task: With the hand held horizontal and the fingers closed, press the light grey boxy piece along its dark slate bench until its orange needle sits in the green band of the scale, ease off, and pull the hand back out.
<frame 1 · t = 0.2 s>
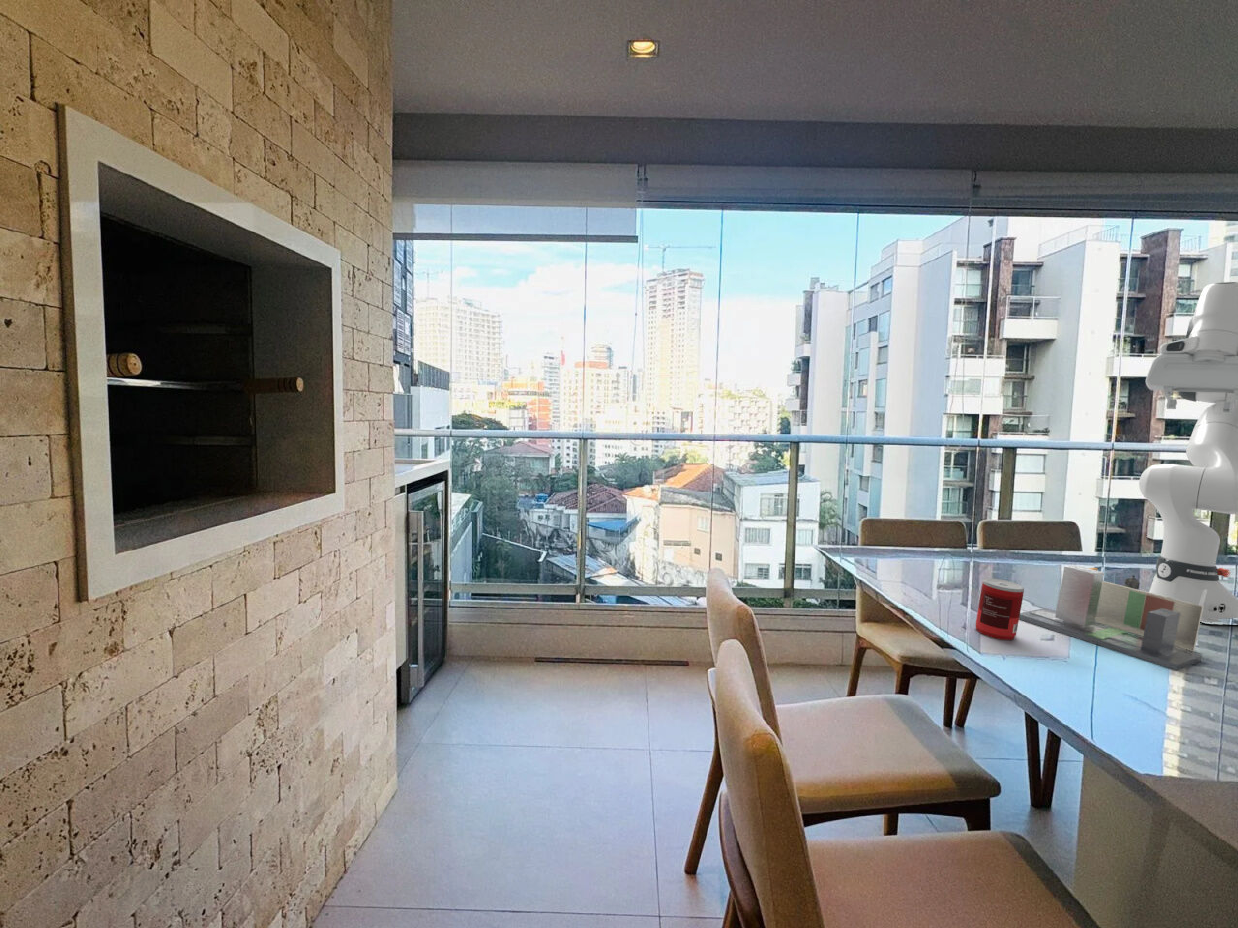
hand: (1198, 409, 144), 52 cm above the table, tool tilted 20°, fingers open, 8 cm apart
canned food: (994, 634, 141), on the table
light grey boxy piece: (1082, 594, 151), point 8 cm above the table, slide at 0.0 cm
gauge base: (1103, 638, 146), on the table
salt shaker: (1124, 623, 161), on the table
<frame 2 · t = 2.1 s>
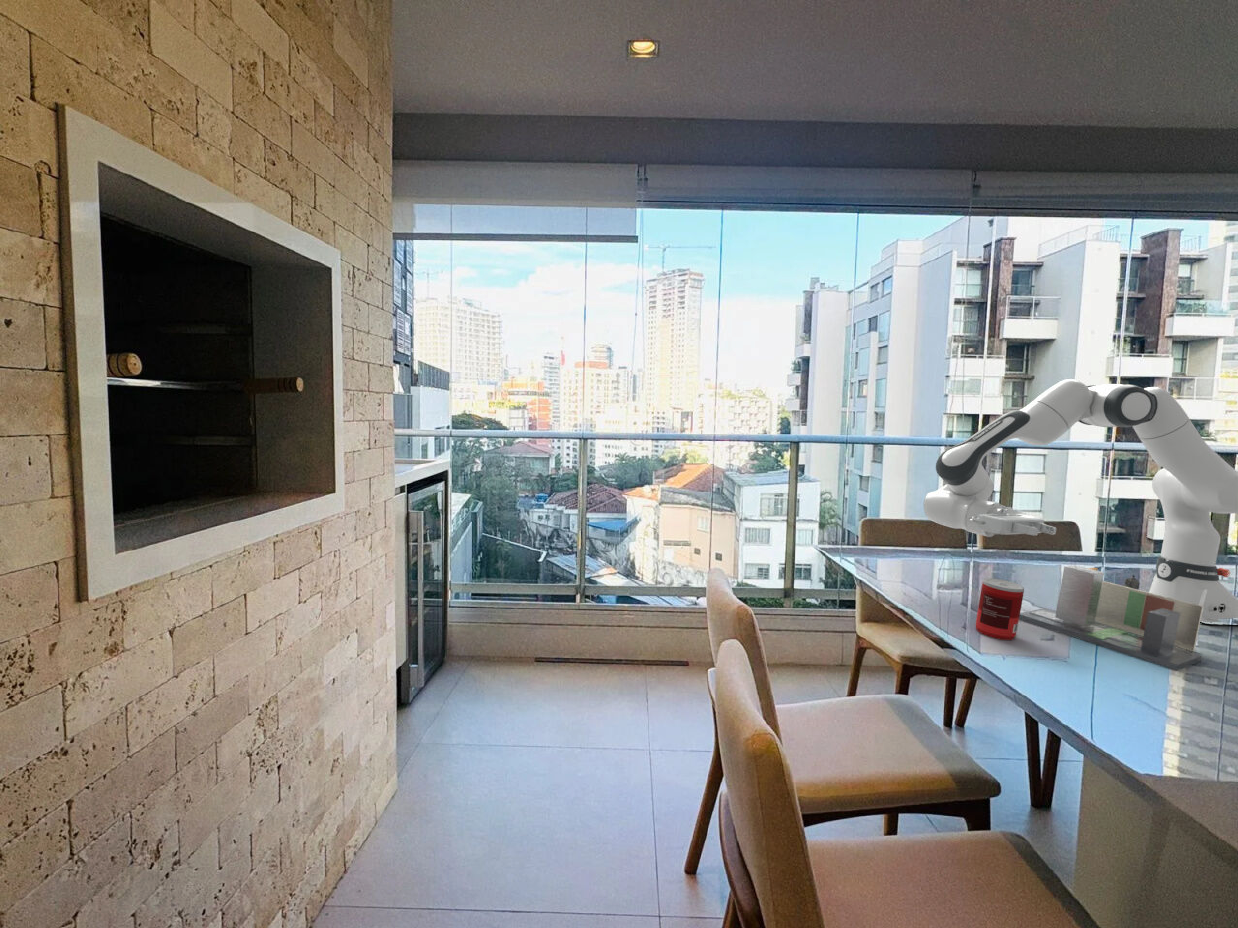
hand: (1046, 531, 156), 20 cm above the table, tool horizontal, fingers open, 8 cm apart
nothing on the table moved.
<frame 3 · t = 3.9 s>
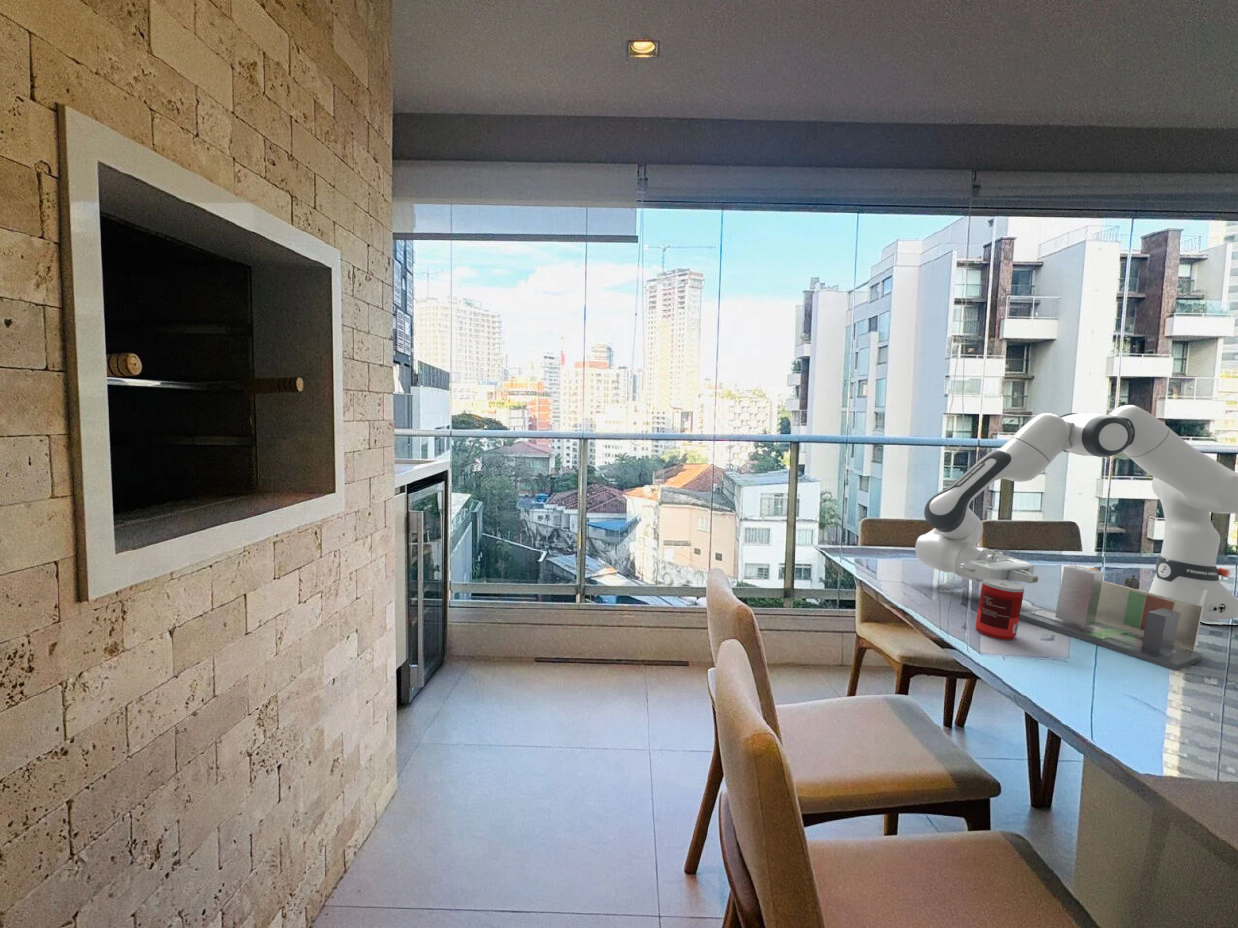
hand: (1035, 579, 157), 9 cm above the table, tool horizontal, fingers closed
nothing on the table moved.
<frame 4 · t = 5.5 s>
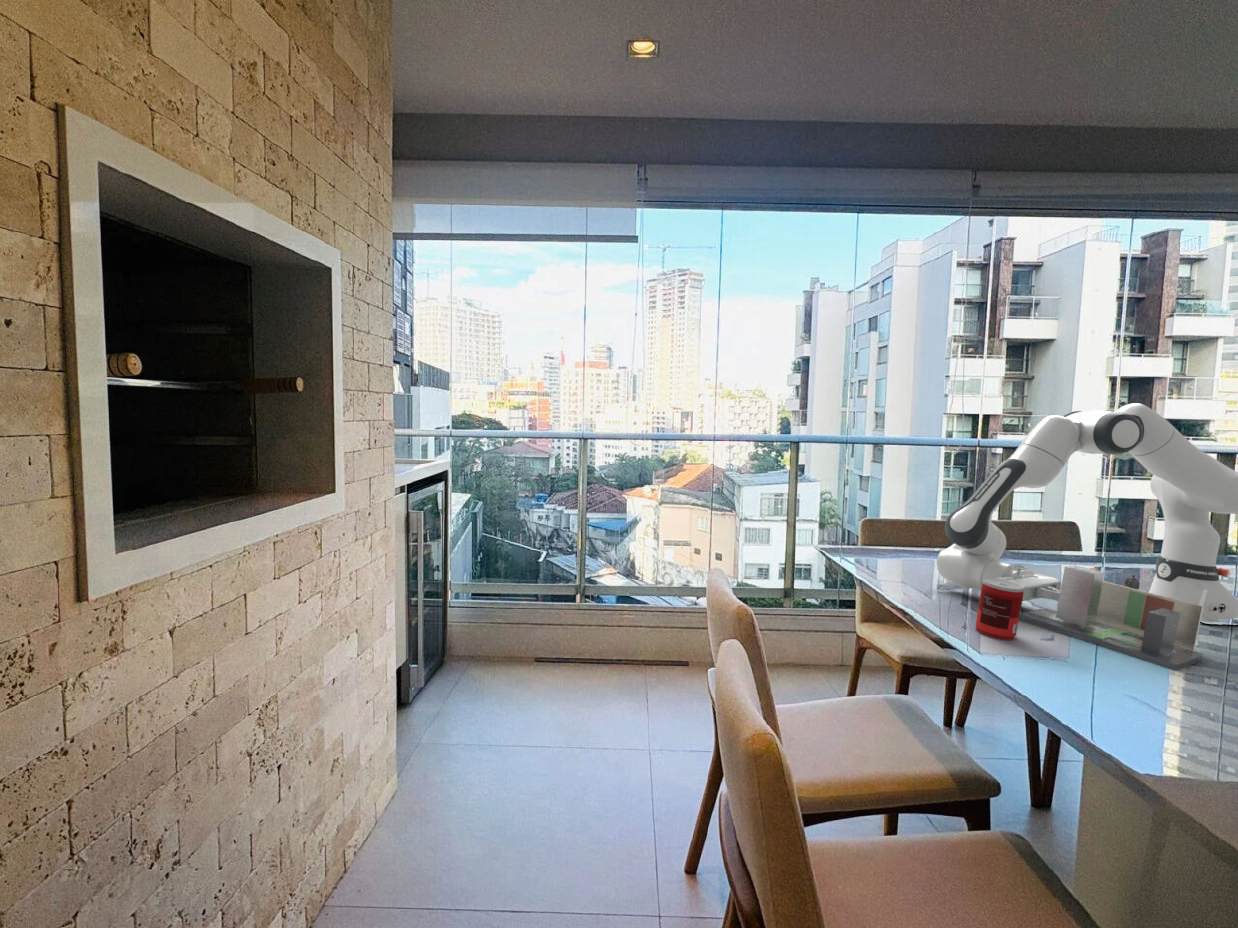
hand: (1064, 597, 152), 6 cm above the table, tool horizontal, fingers closed, pressing on light grey boxy piece
light grey boxy piece: (1083, 594, 151), point 8 cm above the table, slide at 0.1 cm, touching gripper
everything else where it was.
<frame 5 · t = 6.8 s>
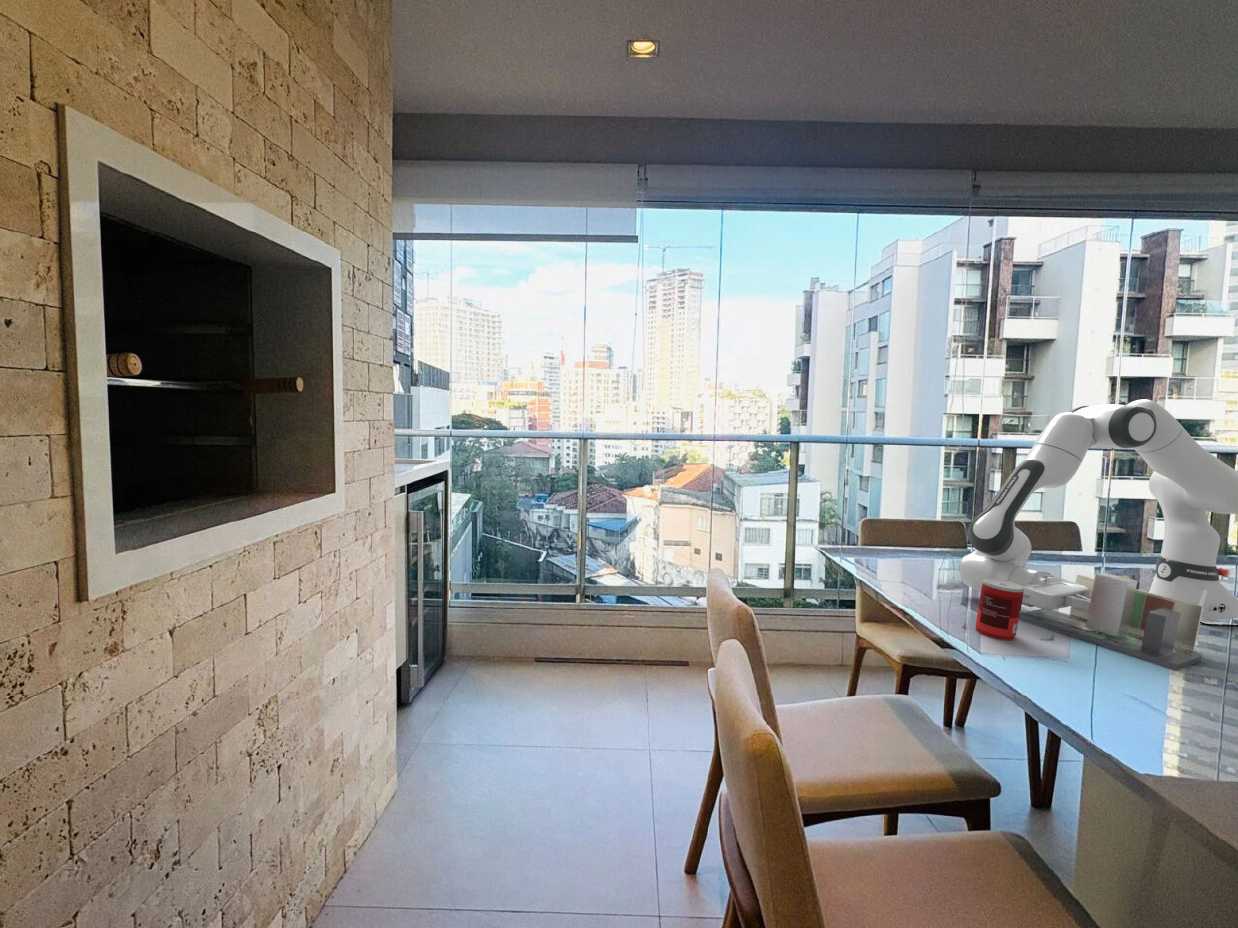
hand: (1094, 606, 147), 6 cm above the table, tool horizontal, fingers closed, pressing on light grey boxy piece
light grey boxy piece: (1114, 603, 146), point 8 cm above the table, slide at 6.3 cm, touching gripper
everything else where it was.
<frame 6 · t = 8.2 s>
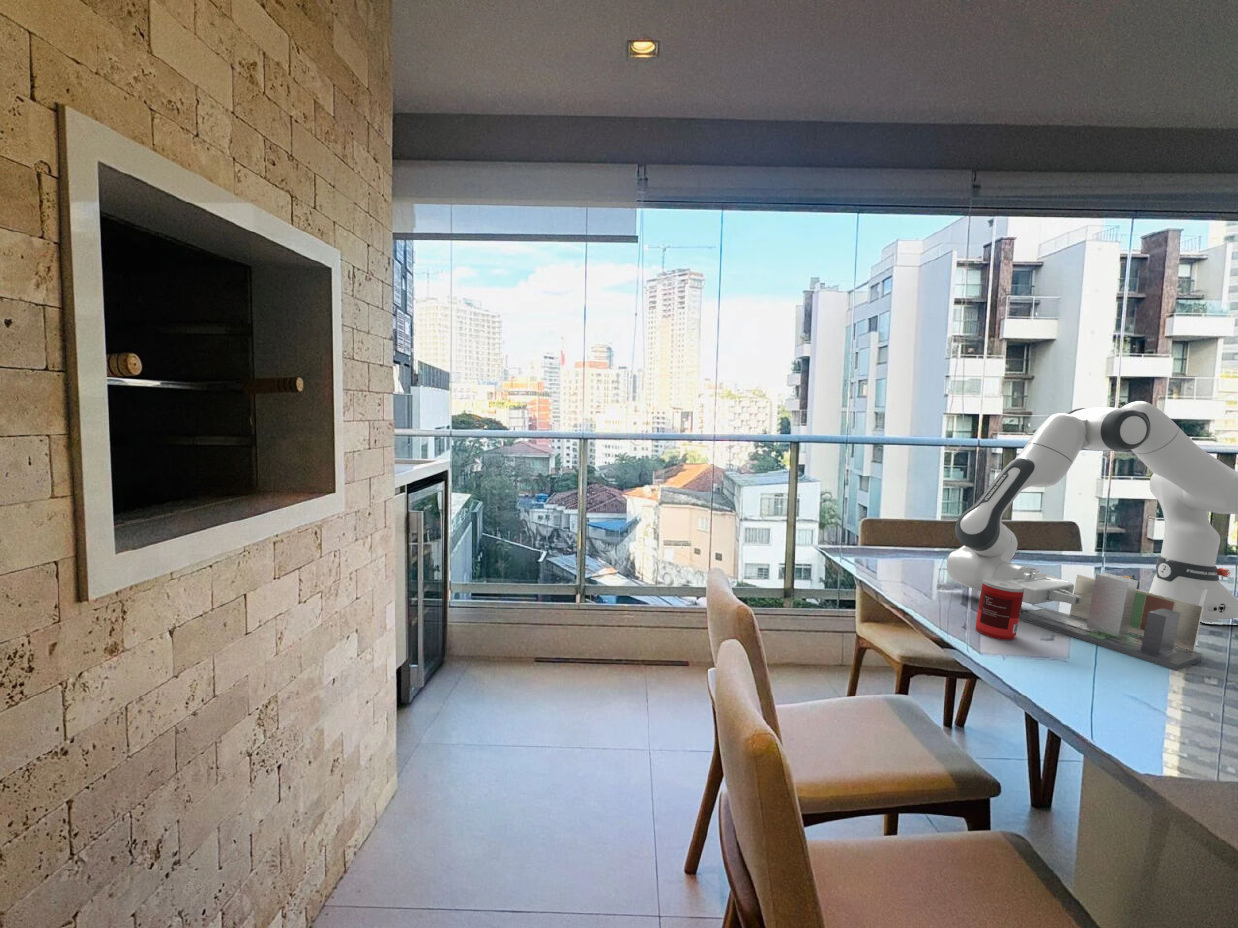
hand: (1077, 600, 150), 7 cm above the table, tool horizontal, fingers closed
light grey boxy piece: (1115, 603, 146), point 8 cm above the table, slide at 6.3 cm
everything else where it was.
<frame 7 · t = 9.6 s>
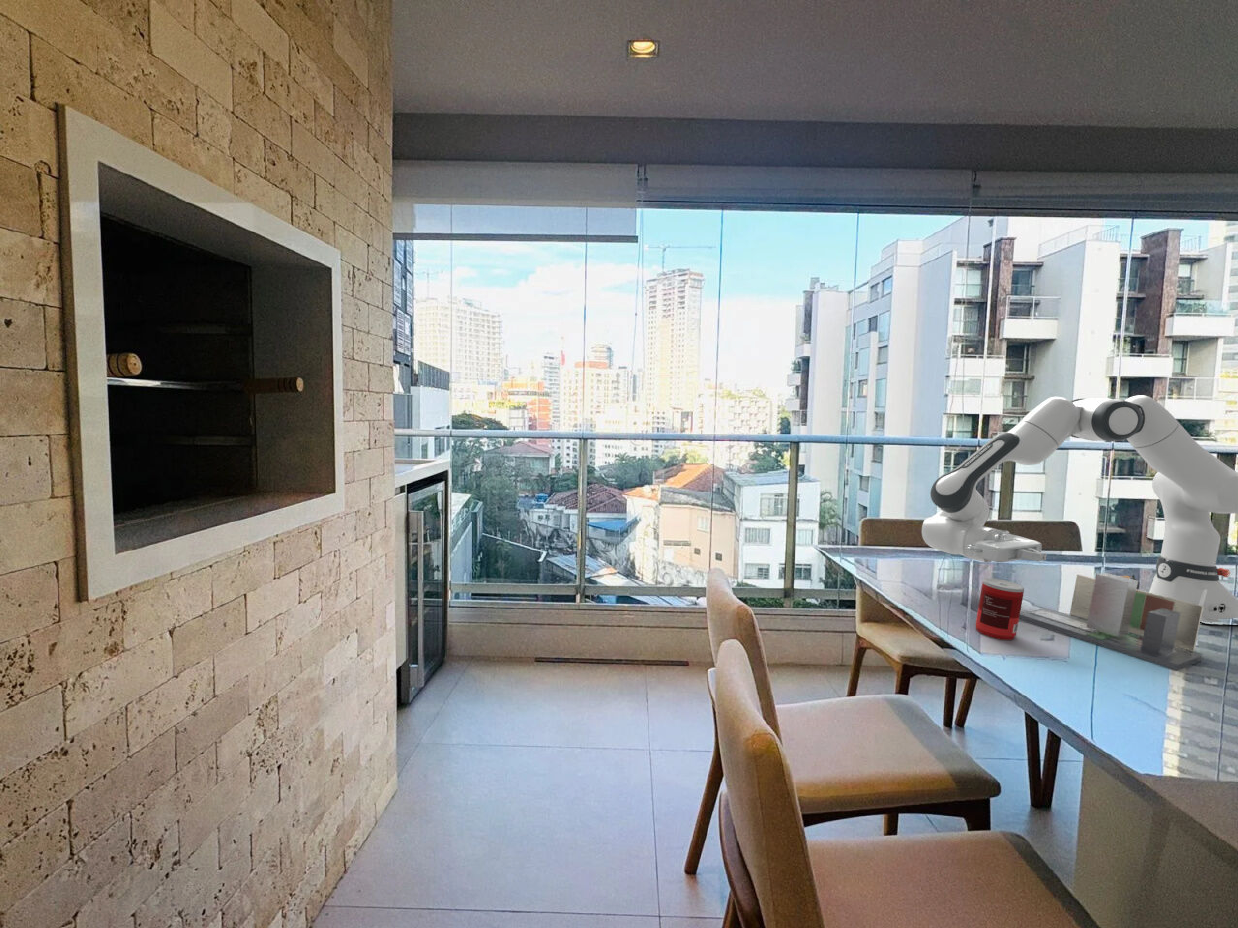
hand: (1043, 557, 157), 14 cm above the table, tool horizontal, fingers closed
nothing on the table moved.
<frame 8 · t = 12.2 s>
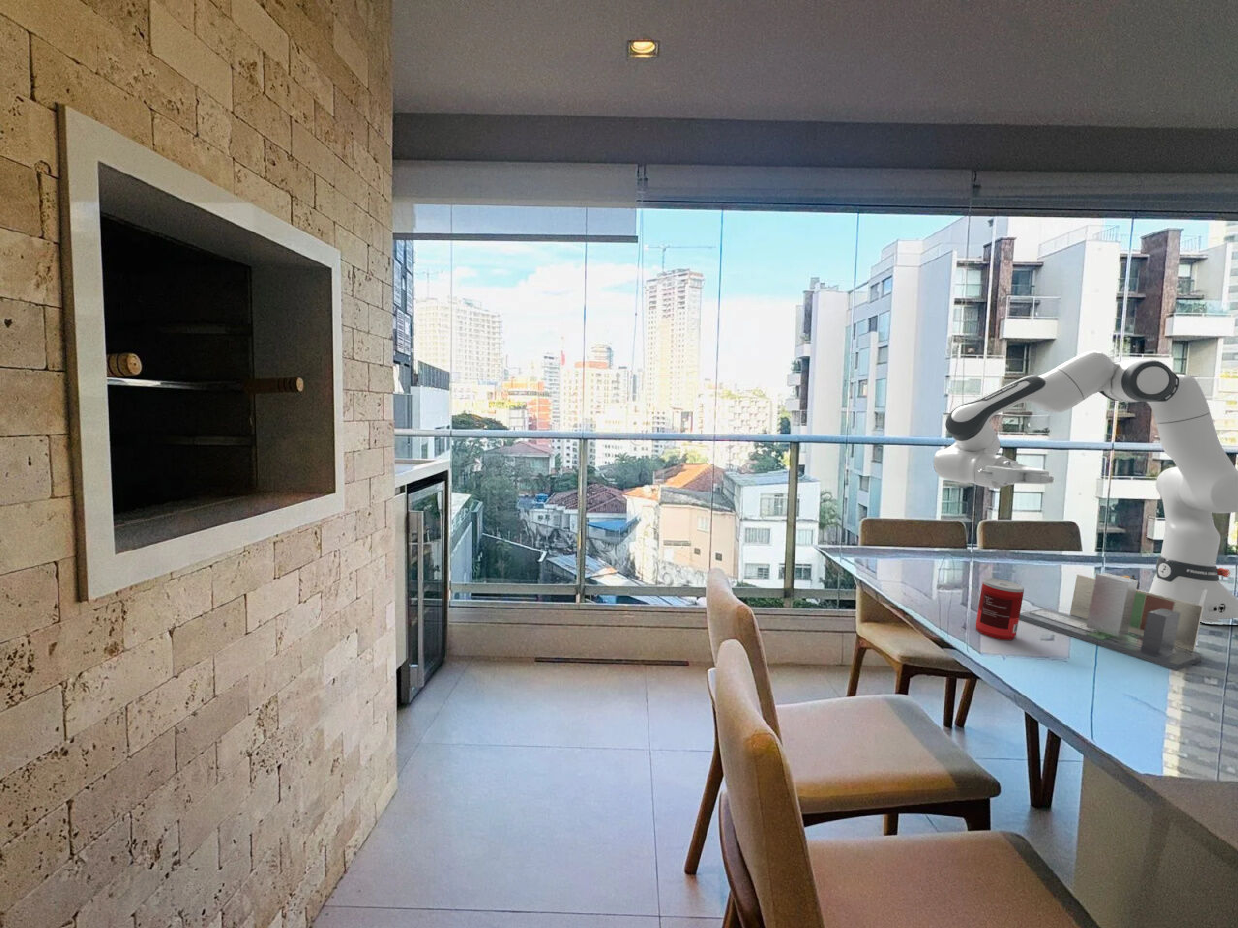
hand: (1050, 480, 164), 32 cm above the table, tool horizontal, fingers closed
nothing on the table moved.
at the end: light grey boxy piece slide at 6.3 cm; light grey boxy piece touching nothing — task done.
